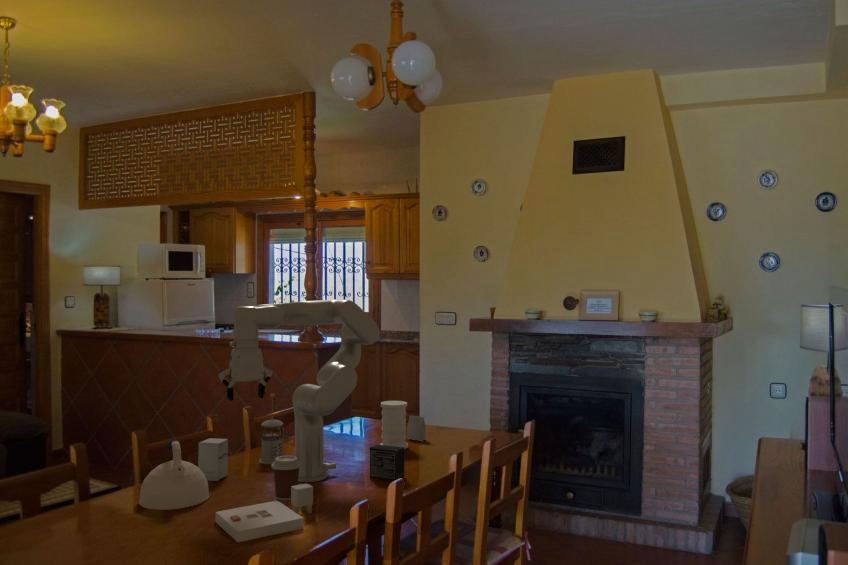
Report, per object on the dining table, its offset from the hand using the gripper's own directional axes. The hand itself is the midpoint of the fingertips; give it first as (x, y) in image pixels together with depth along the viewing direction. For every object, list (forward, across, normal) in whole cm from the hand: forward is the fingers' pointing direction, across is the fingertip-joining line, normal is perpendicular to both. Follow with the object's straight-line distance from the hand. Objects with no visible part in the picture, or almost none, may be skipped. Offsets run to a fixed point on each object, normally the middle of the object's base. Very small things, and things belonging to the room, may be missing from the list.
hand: (245, 398), depth 217 cm
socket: (+29, -7, -33) cm, 44 cm away
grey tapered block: (+29, +84, +33) cm, 95 cm away
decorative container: (+29, +69, +26) cm, 80 cm away
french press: (+29, +21, +32) cm, 48 cm away
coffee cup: (+29, +9, -13) cm, 33 cm away
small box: (+29, +46, -11) cm, 55 cm away
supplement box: (+29, -5, +20) cm, 36 cm away
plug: (+29, +7, -29) cm, 42 cm away
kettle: (+30, -21, +3) cm, 36 cm away
